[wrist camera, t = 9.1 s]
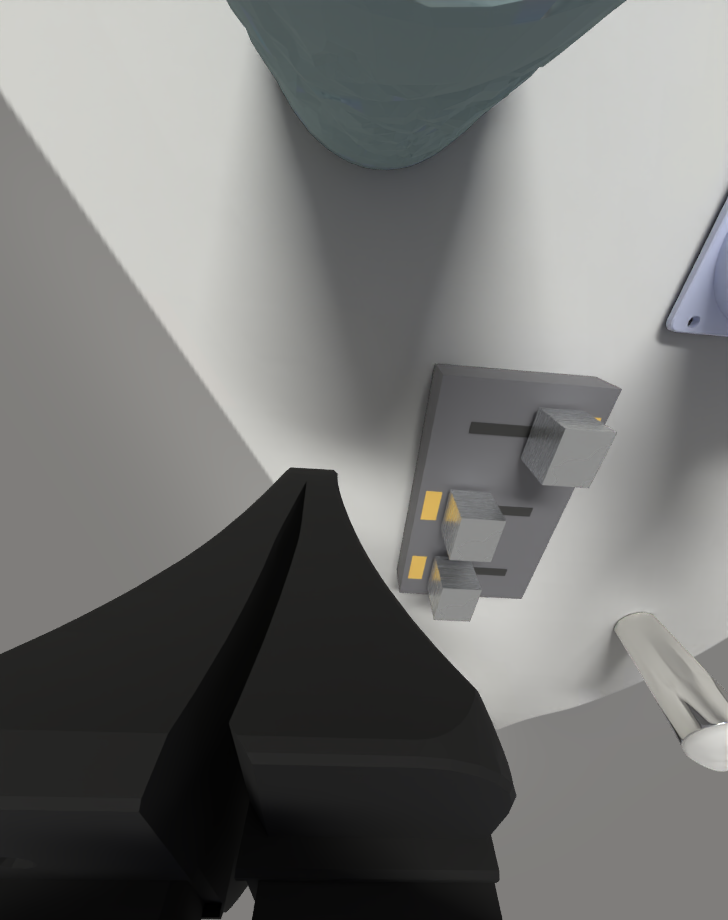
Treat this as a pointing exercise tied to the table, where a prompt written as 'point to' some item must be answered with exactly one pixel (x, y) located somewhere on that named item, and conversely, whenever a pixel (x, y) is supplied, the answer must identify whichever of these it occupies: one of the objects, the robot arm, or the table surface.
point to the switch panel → (490, 467)
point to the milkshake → (679, 689)
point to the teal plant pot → (406, 65)
